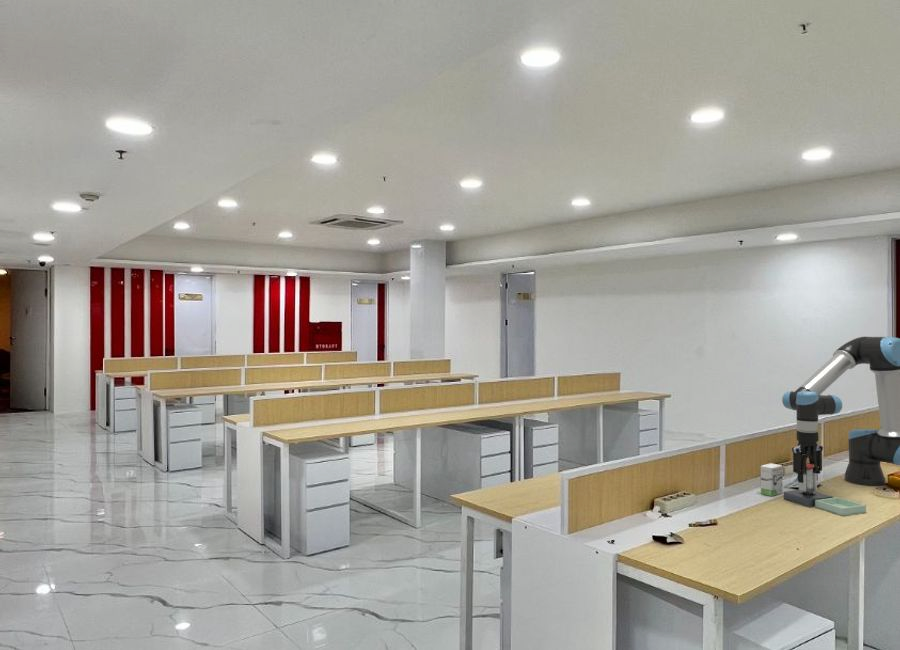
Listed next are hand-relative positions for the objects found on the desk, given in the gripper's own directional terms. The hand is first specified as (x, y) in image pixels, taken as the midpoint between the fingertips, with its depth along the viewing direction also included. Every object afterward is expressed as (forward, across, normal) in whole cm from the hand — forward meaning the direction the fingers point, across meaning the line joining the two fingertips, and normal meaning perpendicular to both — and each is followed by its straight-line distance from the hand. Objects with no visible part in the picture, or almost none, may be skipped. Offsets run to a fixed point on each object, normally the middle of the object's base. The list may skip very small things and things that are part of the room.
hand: (807, 489), depth 249 cm
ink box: (+5, +4, -14) cm, 15 cm away
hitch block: (+5, 0, 0) cm, 5 cm away
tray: (+5, -2, +12) cm, 14 cm away
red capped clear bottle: (+5, 0, 0) cm, 5 cm away
